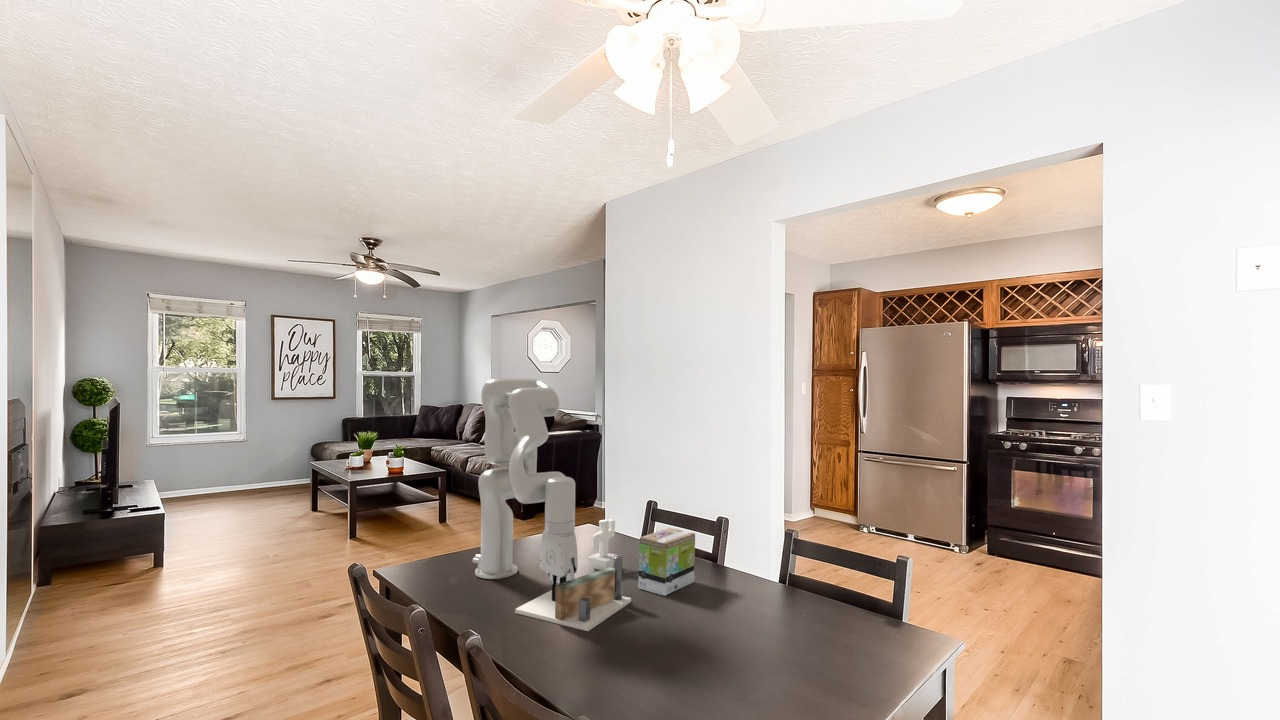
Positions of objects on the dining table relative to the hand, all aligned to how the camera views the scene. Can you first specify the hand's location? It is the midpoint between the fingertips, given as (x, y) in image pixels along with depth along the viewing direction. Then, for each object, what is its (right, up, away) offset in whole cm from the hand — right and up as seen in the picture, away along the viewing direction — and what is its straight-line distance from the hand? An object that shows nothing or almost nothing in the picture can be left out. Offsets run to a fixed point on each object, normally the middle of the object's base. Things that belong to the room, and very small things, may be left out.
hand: (558, 600), depth 149 cm
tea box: (+28, -5, +23) cm, 36 cm away
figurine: (+9, -5, +37) cm, 39 cm away
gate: (+7, -3, +1) cm, 7 cm away
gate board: (+3, -4, +6) cm, 8 cm away
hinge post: (+11, -4, +3) cm, 12 cm away
